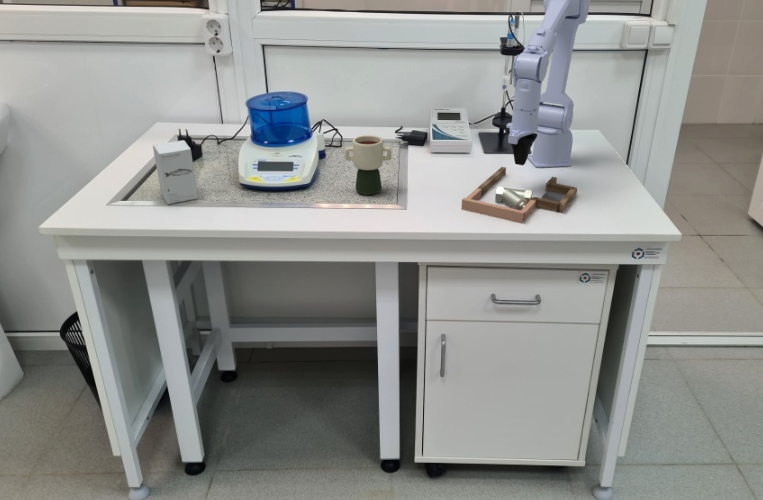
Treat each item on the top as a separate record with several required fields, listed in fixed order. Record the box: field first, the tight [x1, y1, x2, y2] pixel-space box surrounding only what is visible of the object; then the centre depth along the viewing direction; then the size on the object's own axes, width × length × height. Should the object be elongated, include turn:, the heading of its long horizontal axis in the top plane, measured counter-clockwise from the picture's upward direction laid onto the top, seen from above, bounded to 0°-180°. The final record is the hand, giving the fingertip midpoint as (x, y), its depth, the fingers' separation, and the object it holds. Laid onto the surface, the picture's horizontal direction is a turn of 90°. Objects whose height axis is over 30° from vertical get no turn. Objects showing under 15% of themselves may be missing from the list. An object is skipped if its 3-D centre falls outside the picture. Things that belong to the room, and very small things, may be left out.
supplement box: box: [152, 140, 199, 205], centre depth 148 cm, size 7×7×13 cm
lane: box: [477, 166, 578, 214], centre depth 152 cm, size 16×20×2 cm
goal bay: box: [460, 187, 536, 224], centre depth 144 cm, size 9×14×2 cm, turn 59°
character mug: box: [344, 134, 392, 195], centre depth 150 cm, size 11×7×13 cm, turn 90°
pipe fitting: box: [494, 186, 534, 210], centre depth 145 cm, size 8×4×7 cm
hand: (520, 163), depth 151 cm, fingers closed
